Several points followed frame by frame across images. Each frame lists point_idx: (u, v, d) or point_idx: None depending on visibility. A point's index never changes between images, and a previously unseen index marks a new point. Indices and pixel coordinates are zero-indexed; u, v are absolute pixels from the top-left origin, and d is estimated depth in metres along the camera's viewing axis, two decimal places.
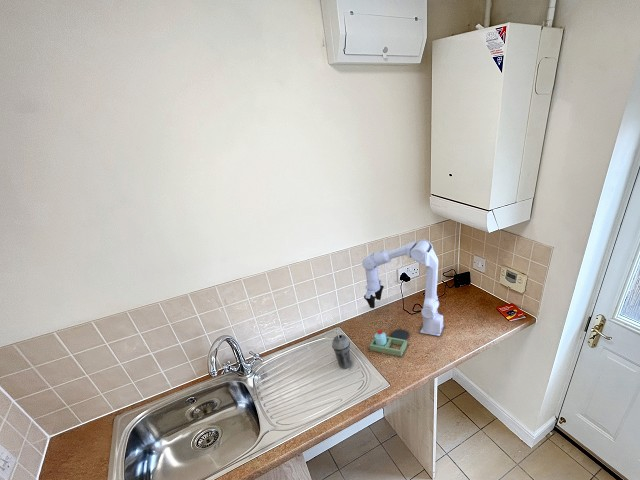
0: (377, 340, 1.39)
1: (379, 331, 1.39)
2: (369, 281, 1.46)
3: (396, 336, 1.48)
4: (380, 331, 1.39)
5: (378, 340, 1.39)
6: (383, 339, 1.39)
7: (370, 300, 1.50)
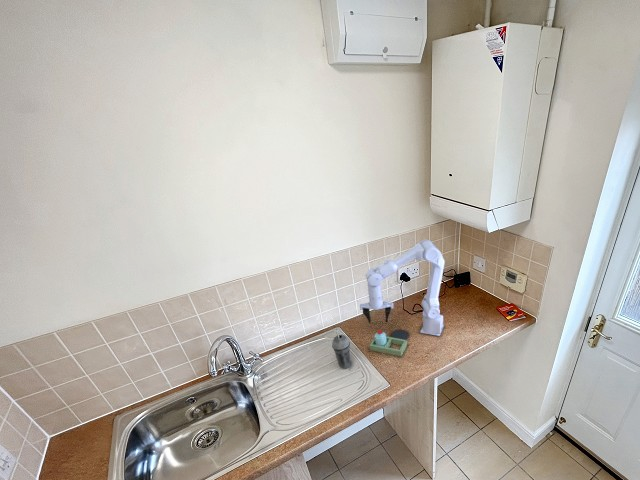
0: (377, 340, 1.39)
1: (379, 331, 1.39)
2: (375, 298, 1.33)
3: (396, 336, 1.48)
4: (380, 331, 1.39)
5: (378, 340, 1.39)
6: (383, 339, 1.39)
7: None
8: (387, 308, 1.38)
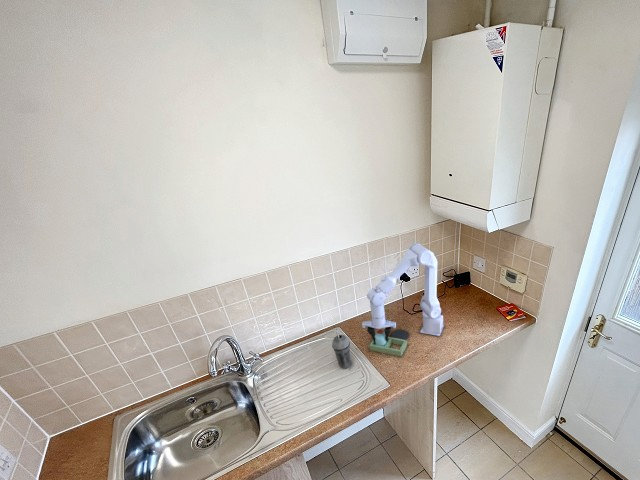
0: (377, 340, 1.39)
1: (379, 331, 1.39)
2: (379, 317, 1.32)
3: (396, 336, 1.48)
4: (380, 331, 1.39)
5: (378, 340, 1.39)
6: (383, 339, 1.39)
7: None
8: (387, 327, 1.37)
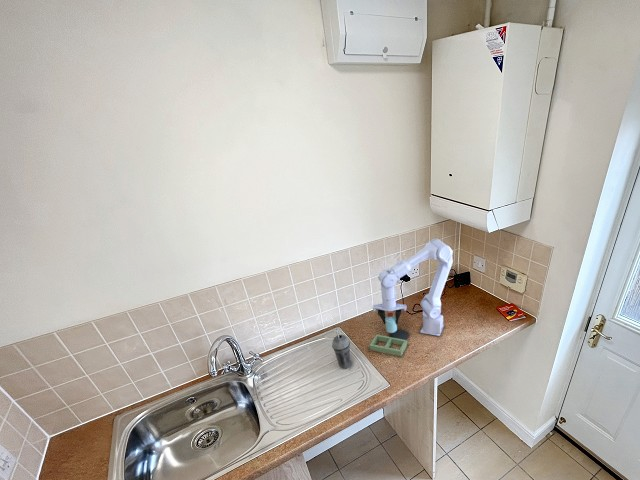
0: (387, 323, 1.39)
1: (389, 314, 1.39)
2: (390, 300, 1.32)
3: (396, 336, 1.48)
4: (390, 314, 1.39)
5: (388, 323, 1.39)
6: (393, 322, 1.39)
7: None
8: (397, 310, 1.37)
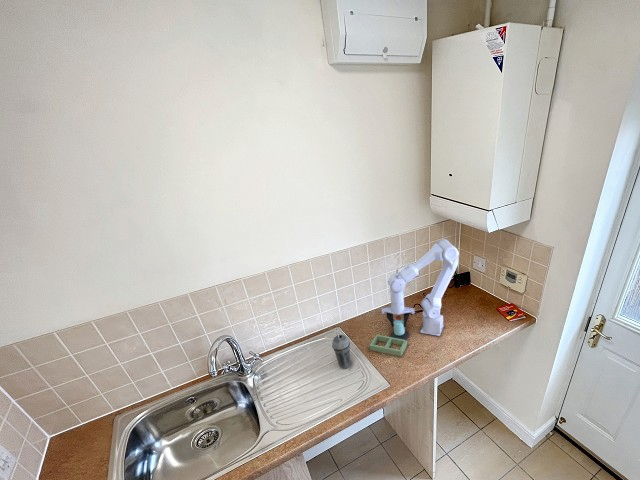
0: (396, 326, 1.44)
1: (398, 317, 1.43)
2: (398, 303, 1.36)
3: (396, 336, 1.48)
4: (399, 317, 1.43)
5: (397, 326, 1.43)
6: (401, 325, 1.43)
7: None
8: (406, 313, 1.41)
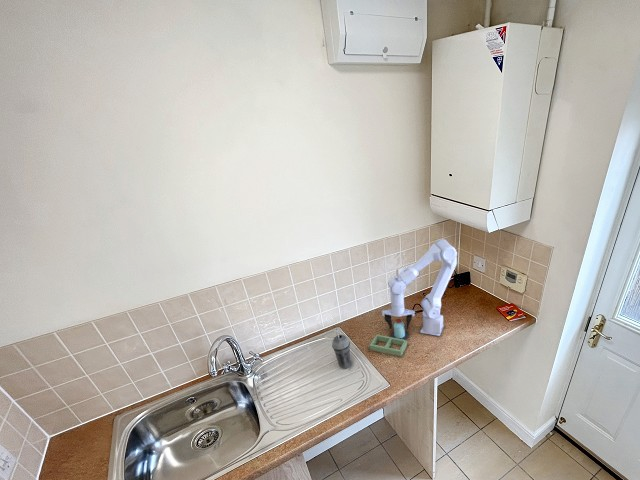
0: (396, 329, 1.44)
1: (398, 320, 1.44)
2: (398, 306, 1.37)
3: None
4: (399, 320, 1.44)
5: (397, 329, 1.44)
6: (402, 328, 1.44)
7: None
8: (408, 316, 1.42)
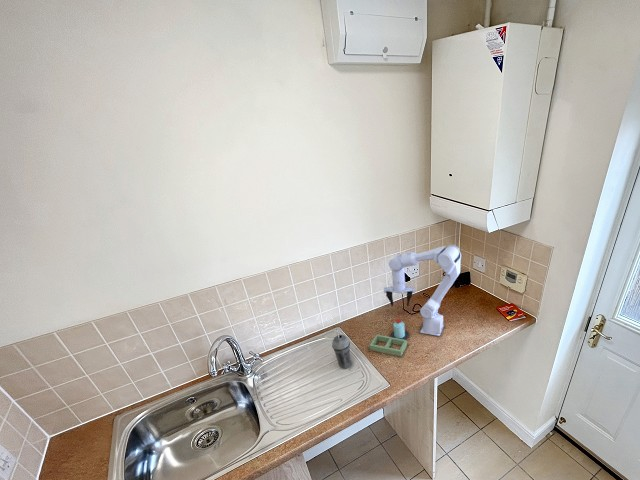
0: (396, 329, 1.44)
1: (398, 320, 1.44)
2: (395, 282, 1.44)
3: None
4: (399, 320, 1.44)
5: (397, 329, 1.44)
6: (402, 328, 1.44)
7: None
8: (409, 292, 1.49)
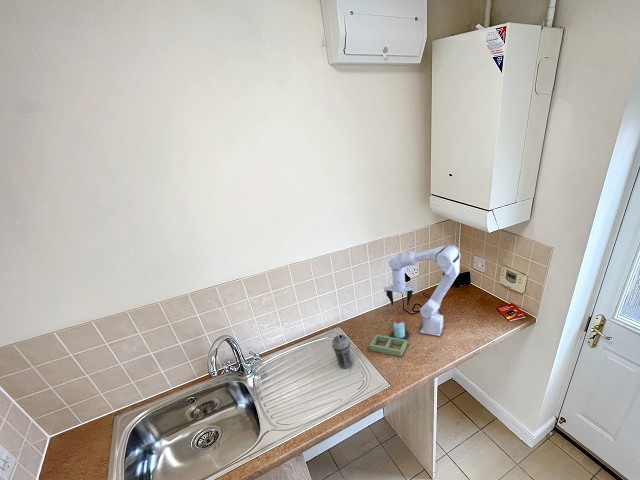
0: (396, 329, 1.44)
1: (398, 320, 1.44)
2: (395, 281, 1.45)
3: None
4: (399, 320, 1.44)
5: (397, 329, 1.44)
6: (402, 328, 1.44)
7: None
8: (409, 292, 1.49)
